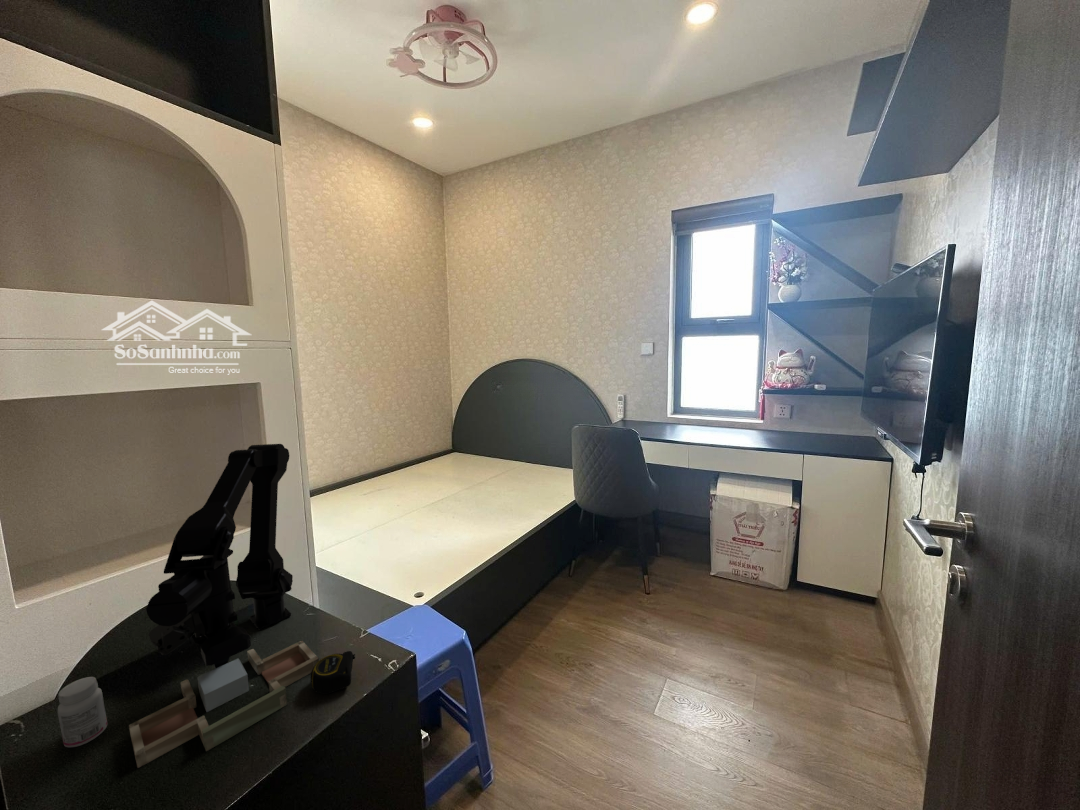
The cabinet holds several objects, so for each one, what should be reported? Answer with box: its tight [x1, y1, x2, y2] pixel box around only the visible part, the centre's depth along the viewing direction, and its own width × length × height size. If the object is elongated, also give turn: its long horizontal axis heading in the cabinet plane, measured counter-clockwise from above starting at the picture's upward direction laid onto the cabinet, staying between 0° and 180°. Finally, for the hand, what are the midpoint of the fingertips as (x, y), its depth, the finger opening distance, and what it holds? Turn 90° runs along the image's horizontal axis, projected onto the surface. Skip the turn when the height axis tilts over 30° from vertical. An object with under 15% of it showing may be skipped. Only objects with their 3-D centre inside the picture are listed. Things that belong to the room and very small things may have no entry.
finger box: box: [128, 640, 320, 769], centre depth 73 cm, size 18×25×3 cm
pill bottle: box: [57, 676, 108, 748], centre depth 66 cm, size 5×5×8 cm
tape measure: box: [310, 650, 356, 695], centre depth 76 cm, size 7×7×4 cm
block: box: [197, 657, 250, 713], centre depth 74 cm, size 6×6×4 cm
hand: (220, 670), depth 77 cm, fingers closed
